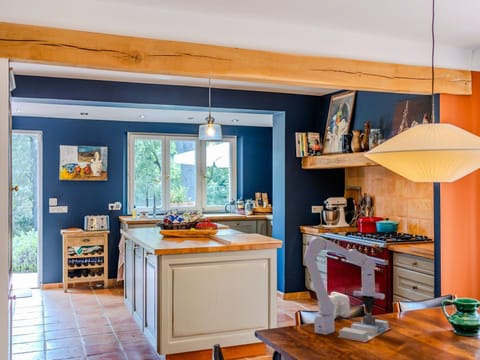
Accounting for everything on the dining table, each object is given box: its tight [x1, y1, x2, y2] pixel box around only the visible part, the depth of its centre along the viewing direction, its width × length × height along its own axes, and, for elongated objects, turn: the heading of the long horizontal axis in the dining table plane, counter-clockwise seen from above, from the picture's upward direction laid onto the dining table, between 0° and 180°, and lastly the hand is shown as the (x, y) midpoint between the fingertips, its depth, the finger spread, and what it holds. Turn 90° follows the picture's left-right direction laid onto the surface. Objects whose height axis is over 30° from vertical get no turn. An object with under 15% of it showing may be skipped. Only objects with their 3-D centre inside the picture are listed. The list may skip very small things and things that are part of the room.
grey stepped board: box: [337, 318, 391, 343], centre depth 218 cm, size 26×13×4 cm, turn 139°
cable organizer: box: [318, 291, 351, 320], centre depth 250 cm, size 15×11×12 cm
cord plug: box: [362, 312, 376, 325], centre depth 221 cm, size 4×4×8 cm
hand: (369, 312), depth 222 cm, fingers closed, pressing on cord plug
